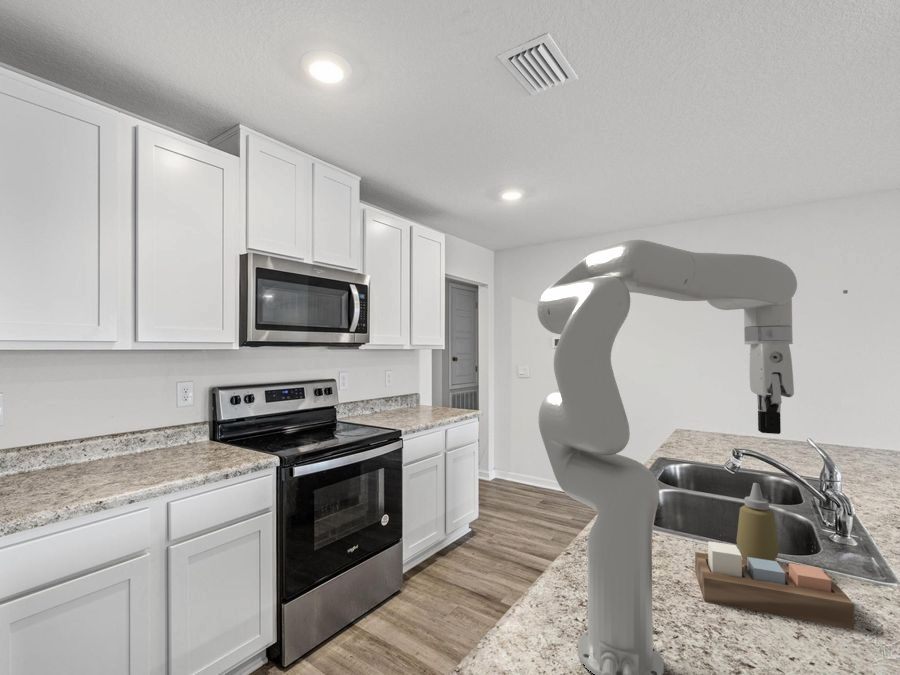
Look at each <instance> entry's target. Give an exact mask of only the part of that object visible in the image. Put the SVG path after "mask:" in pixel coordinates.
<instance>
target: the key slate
mask: <svg viewBox="0 0 900 675" xmlns="http://www.w3.org/2000/svg"><path fill="white" fill-rule="evenodd" d="M780 565H781V564H780V563H778V561H776V560H775V561H771V560H764V559H757V558H751V557H747V568H748V573H749V575H750V577H751V579H755V580H761V581H767V582H772V583H778V584H784V585H785V572H784V571H783V570H782V568H781V567H780Z"/></svg>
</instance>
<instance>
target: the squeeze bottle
mask: <svg viewBox="0 0 900 675" xmlns="http://www.w3.org/2000/svg"><path fill="white" fill-rule="evenodd" d="M769 508H770V503H769V500H768V499H766V498H764V496H763V493H762V489H761V484H760V483H757V482H753V483H752V487H751V491H750V494H749V496H745V497H744V505H742V506H740V507H739V513H738V514H739V515H738V522H737V523H738V524H737V532H736V533H737V534H736V540H735V541H736V544H737V545H736V546H737V548H738V550H739V552H740V554H741V555H742V559H745V560H747V557H751V558H757V559H764V560H771V561H776V560H777V557H778V555H779V552H780V550H779V542H778V536H777V535H778V534H777V526H776V520H775V519H776V518H775V514H774V511H772V510H770V509H769Z"/></svg>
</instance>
